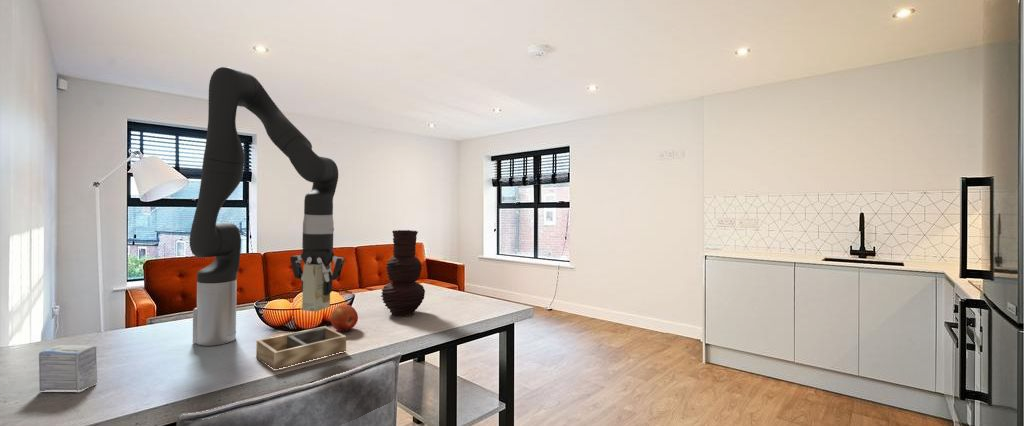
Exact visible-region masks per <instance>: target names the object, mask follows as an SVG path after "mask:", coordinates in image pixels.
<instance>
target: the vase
mask: <svg viewBox="0 0 1024 426" xmlns="http://www.w3.org/2000/svg"><path fill="white" fill-rule="evenodd" d="M418 233H419V231H417V230H412V229H411V230H410V229H405V230H404V229H403V230H401V229H399V230H394V229H393V230H392V236H393V238H392V242H393V244H392V245H393V251H392V253H393V256H392V257H391V258H390V259H389V260H387V261H386V263H385V264H386V266H385V268H386V275H387V278H388V280H389V281H391V282H388V283H386V285H384V286H383V288H382V289H381V295H380V297H381V301H383V302H382V303H383V304H385V305H384V306H385V307H386V308H387V310H389V313H391V316H394V317H402V318H403V317H404V318H405V317H409V316H413V315H414V314H415V311H417V309H418V308H419V307H420V306H421V304H422V303H423V301H424V300H425V297H426V296H425V294H426V290H425V287H424V285H422V284H421V283H419V282H417V280H418V279H419V278H420V276H421V272H422V267H423V265H422V262H421V261H420V259H419V258H418V257H416V245H417V235H418Z"/></svg>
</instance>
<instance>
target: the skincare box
mask: <svg viewBox="0 0 1024 426" xmlns="http://www.w3.org/2000/svg"><path fill="white" fill-rule="evenodd" d="M330 267H331V268H332V262H331V263H330ZM326 269H328V267H327V268H326ZM302 271H303V292H302V299H301V302H302V304H301V310H302V311H307V312H314V313H315V312H318V311H321V310H324V309H327V308H330V306H331V293H330V294H329V295H328V296H324V282H326V281H325V278H324V275H323V274H322V272H321V271H322V265H319V264H303V269H302Z"/></svg>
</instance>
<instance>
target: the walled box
mask: <svg viewBox="0 0 1024 426" xmlns="http://www.w3.org/2000/svg"><path fill="white" fill-rule="evenodd" d="M255 348H256V352H255V353H256V354H255V356H256V359H257V358H258V360H259V359H260V360H261V361H260V360H259V361H260V362H262V361H263V362H264V363H266V364H267V365H269V366H270V367H272V368H273V369H279V368H283V367H288V366H291V365H295V364H298V363H302V362H306V361H309V360H313V359H317V358H321V357H324V356H329V355H332V354H336V353H339V352H344V351H346V352H347V336H346V335H345V334H342V333H341V332H340V331H336V330H335V329H332V328H330V327H329V326H327V325H324V326H320V327H315V328H310V329H304V330H300V331H295V332H291V333H285V334H281V335H277V336H272V337H267V338H261V339H256V347H255ZM263 362H262V363H263ZM264 363H263V364H264ZM266 364H265V365H266ZM267 365H266V366H267ZM270 367H269V368H270Z"/></svg>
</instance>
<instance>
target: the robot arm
mask: <svg viewBox="0 0 1024 426" xmlns="http://www.w3.org/2000/svg"><path fill="white" fill-rule="evenodd" d="M238 107H240V108H241V107H243V108H245V109H246V110H248V111H250V112H251V113H252V114H254V115H255V117H257V118H258V119H259V121H261V123H262V125H263V126H264V129H265V132H266V135H267V136H268V138H269V139H270V141H272V144H274V145H275V146H276V148H278V149H279V150H280V151H281V152H282V154H284V155H285V156H286V157H287V158H288V159H289V162H290V163H291V165H292V166H293V168H294V169H295V171H296V172H297V174H298V175H299V176H300V177H301V178H302V179H304V180H305V181H307V182H309V183H312V187H311V191H309V192H308V193H306V194H305V196H304V200H303V202H304V203H303V205H304V206H303V209H304V211H303V219H302V220H303V221H302V243H301V244H302V245H301V247H302V252H301V254H299V255H298V254H296V255H293V256H290V259H289V260H290V263H291V264H290V265H291V268H292V272H293V277H294V278H295V279H299V280H300V281H301V292H302V293H303V268H302V267H303V266H302V262H303V263H304V265H306V264H319V265H322V271H321V272H322V274H323V275H324V278H325V281H326V282H324V296H328V295H329V294H330V295H331V293H332V291H333V281H336V280H337V279H339V278H340V277H341V274H342V271H343V266H344V262H345V260H346V258H345V257H344V256H342V257H340V256H336V255H335V253H334V232H335V231H334V230H335V228H334V223H335V222H334V215H333V214H334V212H333V211H334V197H335V193H336V188H337V186H338V182H339V169H338V165H337V163H336V161H334V159H332V158H329V157H324V156H320V155H318V154H317V153H315V151H314V150H313V146H312V143H311V141H310V140H309V139H308V138H307V137H306V136H305V135H304V134H303V133H302V132H301V131H300V130H299V129H298V127H296V126H295V125H294V124H293V123H292V122H291V121H290V120H289V119H288V118H287V117H286V115H285V114H284V113H283V112H282V110H281V109H280V108H279V107H278V105H276V103H275V102H274V100H273V99H272V98H271V97H270V95H269V94H268V92H267V90H266V89H265V88H264V86H263V85H262V84H261V82H260V81H259V80H258V79H257V78H256V77H255V76H254V75H252V74H250V73H248V72H245V71H244V72H243V71H242V70H239V69H235V68H232V67H228V66H221V67H218V68H216V69H215V70H214V71H213V73H212V74H211V77H210V79H209V84H208V116H207V117H208V118H207V128H206V129H207V130H206V140H205V148H204V153H203V160H202V167H201V176H200V177H201V178H200V185H199V193H198V198H197V199H198V200H197V204H196V207H195V211H194V215H193V219H192V220H193V221H192V224H191V228H190V233H189V247H190V248H189V249H190V251H191V254H192V255H193V256H195V257H196V258H202V259H203V258H212V257H213V258H214V260H213V261H212V262H211V263H210V264H209V265H207V266H205V267H202V269H200V270H198V272H197V273H196V307H195V308H193V309H192V344H196V345H199V346H204V347H209V346H210V347H211V346H219V345H225V344H228V343H231V342H233V341H235V340H236V339H237V338H236V337H237V288H238V287H237V280H238V279H237V277H238V276H237V275H238V272H239V270H240V269H239V268H240V262H241V261H240V260H241V250H242V237H241V232H240V229H239V228H238V226H237V225H236V224H235V223H232V222H217V220H218V216H219V213H220V211H221V208H222V207H223V205H224V203H225V202H226V201H227V200H228V198H229V197H231V195H232V194H233V193H234V192H235V190H236V189H237V188H238V186H239V184H240V183H241V181H242V179H243V174H244V167H245V151H244V147H243V144H242V142H241V138H240V137H239V133H238V130H237V126H236V125H237V124H236V120H237V119H236V117H237V109H238ZM332 262H333V265H334V269H333V271H332V266H331V267H330V263H331V264H332ZM327 267H328V269H326V268H327Z"/></svg>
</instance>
